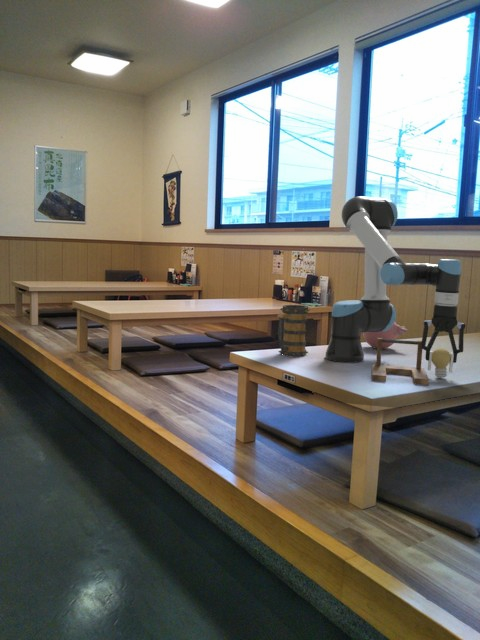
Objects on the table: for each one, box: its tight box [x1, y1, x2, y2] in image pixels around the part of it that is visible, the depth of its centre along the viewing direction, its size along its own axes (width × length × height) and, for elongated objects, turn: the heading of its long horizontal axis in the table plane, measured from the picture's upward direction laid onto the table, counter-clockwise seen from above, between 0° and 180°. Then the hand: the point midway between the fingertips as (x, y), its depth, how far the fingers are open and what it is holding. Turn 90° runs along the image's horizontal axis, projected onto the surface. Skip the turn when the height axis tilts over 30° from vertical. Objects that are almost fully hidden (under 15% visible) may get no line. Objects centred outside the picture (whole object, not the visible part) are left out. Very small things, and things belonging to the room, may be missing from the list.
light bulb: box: [431, 348, 451, 379], centre depth 187 cm, size 6×6×10 cm
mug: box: [276, 304, 311, 358], centre depth 221 cm, size 13×17×20 cm
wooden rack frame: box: [371, 338, 430, 386], centre depth 188 cm, size 18×18×12 cm
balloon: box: [362, 321, 409, 350], centre depth 241 cm, size 15×20×15 cm
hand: (439, 370), depth 188 cm, fingers closed on light bulb, 6 cm apart
